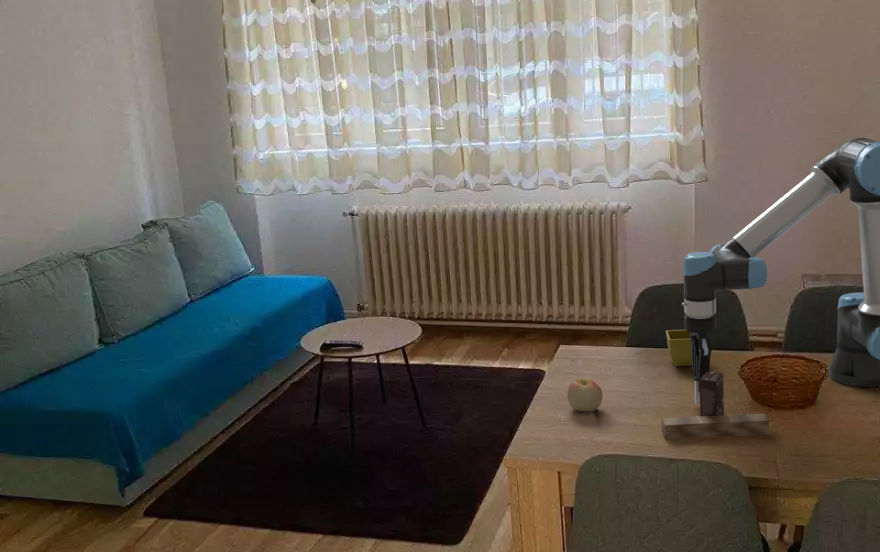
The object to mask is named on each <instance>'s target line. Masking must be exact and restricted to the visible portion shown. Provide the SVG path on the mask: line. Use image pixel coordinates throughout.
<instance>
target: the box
mask: <svg viewBox="0 0 880 552" xmlns="http://www.w3.org/2000/svg"><path fill="white" fill-rule="evenodd" d="M724 399H725V398H724V373H722V372H715V371H709V372H706V373H705V374H704V375H703V376H702V378H701V379H700V404H699V405H700V406H699V409H700V410H699V413H700V416H721V415H725V409H724V408H725V404H724V403H725V402H724ZM700 416H699V417H700Z"/></svg>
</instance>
